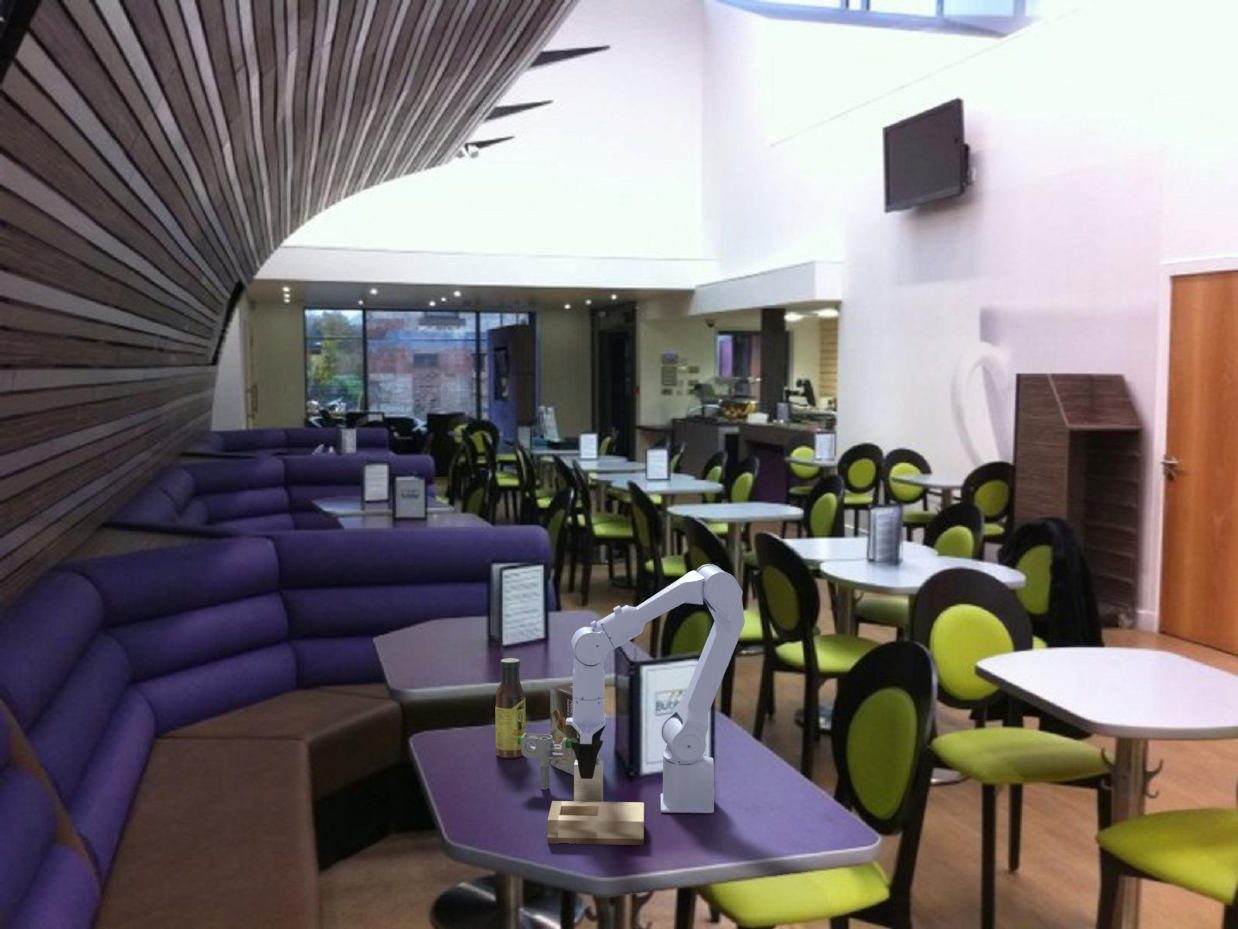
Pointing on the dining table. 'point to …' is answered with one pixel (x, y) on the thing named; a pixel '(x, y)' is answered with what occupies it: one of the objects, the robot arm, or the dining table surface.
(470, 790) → the dining table surface
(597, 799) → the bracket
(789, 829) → the dining table surface
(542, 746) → the mechanical component
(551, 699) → the coffee box
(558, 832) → the slotted wooden block
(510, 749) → the sauce bottle
